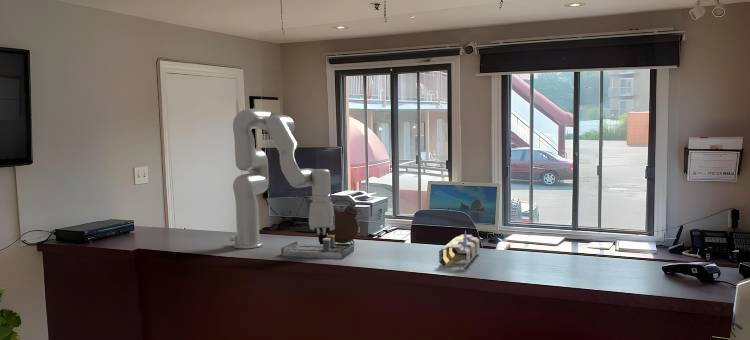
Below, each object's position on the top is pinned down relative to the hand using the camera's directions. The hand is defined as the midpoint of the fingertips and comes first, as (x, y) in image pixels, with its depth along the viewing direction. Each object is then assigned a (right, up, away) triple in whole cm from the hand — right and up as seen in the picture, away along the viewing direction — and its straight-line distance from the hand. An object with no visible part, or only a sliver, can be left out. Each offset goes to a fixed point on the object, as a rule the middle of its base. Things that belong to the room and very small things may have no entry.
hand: (322, 243), depth 226 cm
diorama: (+54, -4, -18) cm, 57 cm away
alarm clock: (+7, -3, +15) cm, 17 cm away
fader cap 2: (+4, -1, -1) cm, 4 cm away
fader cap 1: (+2, -2, -8) cm, 8 cm away
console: (-2, -4, -3) cm, 5 cm away
